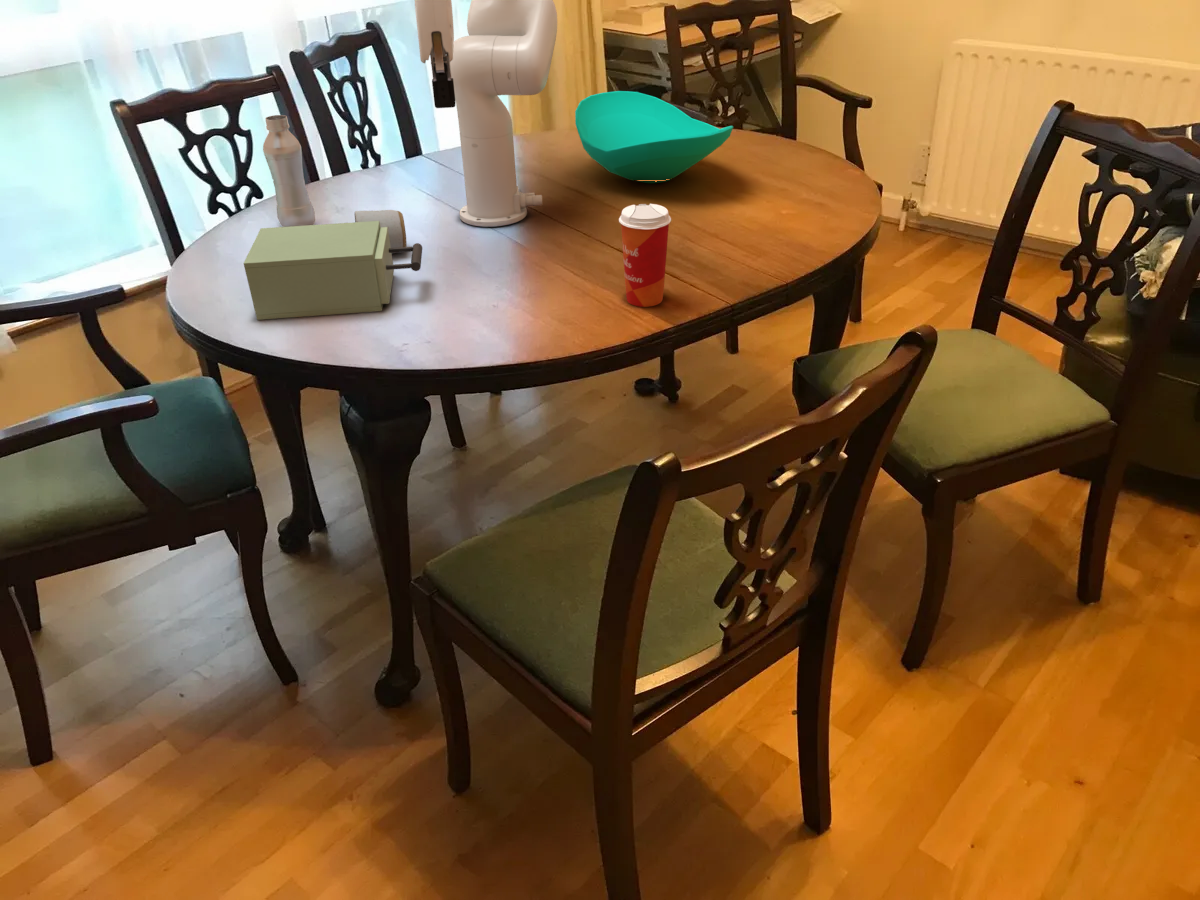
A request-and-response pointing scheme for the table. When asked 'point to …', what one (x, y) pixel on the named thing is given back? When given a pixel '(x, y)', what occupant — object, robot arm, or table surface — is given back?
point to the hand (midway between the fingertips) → (445, 106)
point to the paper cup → (644, 252)
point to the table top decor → (643, 135)
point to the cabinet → (314, 270)
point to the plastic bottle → (287, 174)
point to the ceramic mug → (387, 224)
